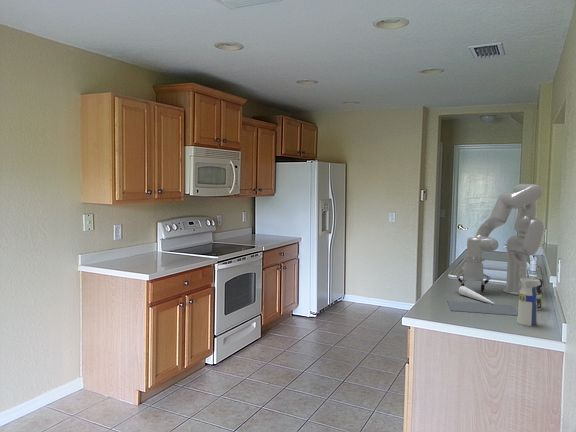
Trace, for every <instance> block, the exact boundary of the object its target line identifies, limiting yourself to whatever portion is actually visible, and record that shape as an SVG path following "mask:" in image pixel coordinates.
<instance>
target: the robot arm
mask: <svg viewBox="0 0 576 432" xmlns="http://www.w3.org/2000/svg"><path fill="white" fill-rule="evenodd" d="M542 195H543V189H542V187H541V185H538V184H535V183H534V184H533V183H532V184H531V183H528V184H527V183H521V184H520V183H519V184H515V185H514V186H513V188H512V192H502V193H500V194H499V196H497V197H498V198H497V199H496V202H495V204H494V207H493V209H492V212H491V213H490V216H488V218H487V219H486V220H485V221H483V223H482V224H481V225H480V226H479V228H478V229H477V232H476V234H475V236H470V237H468V238H467V241H466V261H465V262H464V265H463V271H462V272H460V273H458V274H456V275H455V276H456V278H457V280H458V281H459V283H461V284H460V287H461V286H465V283H466V282H478V283H479V282H480V283H481V284H480V292H481V293H484V291H485V287H486V284H488V283H489V281H490V280H491V277H490V276H489V275H488V274H486V273H484V264H483V262H484V261H485V258H483V257H482V255H483V254H482V253H483V252H494V251H497V250H498V248H499V241H498V240H497V239H496V238H495V237H491V236H490V235H491V233H492V232H493V231H494V230H495V229H496V228H499V227H501V226H503V225H506V223H507V221H508V218H509V216H510V215H511V214H510V213H511V212H512V211H513V210H515V209H517V210H518V211H517V214H516V218H515V223H514V231H515V232H517V233H518V234H520V235H511V236H510V237H508V238H507V241H506V244H505V245H506V252H507V266H506V285H505V287H504V288H503V289H502V291H503V292H504V293H506V294H510V295H518V296H519V278H521V277H527V267H528V266H527V264H528V262H527V256H533V255H535V254H536V253H537V252H538V250H539V247H540V244H541V241H542V238H543V235H544V232H545V231H544V230H545V229H544V227H545V226H544V222H543V221H542V220H541V219H539V218H537V217H536V211H537V204H536V201H538V200H539V199H540V198H541V197H542ZM521 234H522V235H524V236H522V235H521ZM520 266H521V269H522V271H521V273H520V272H519V269H518V268H520ZM518 272H519V273H518ZM461 276H462V279H461ZM484 278H486V280H484Z"/></svg>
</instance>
